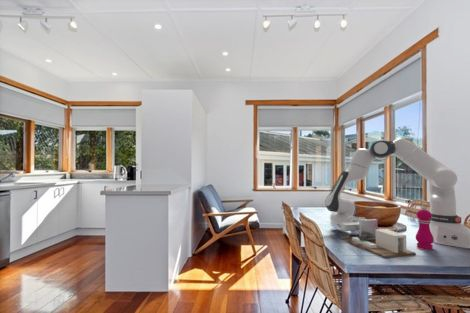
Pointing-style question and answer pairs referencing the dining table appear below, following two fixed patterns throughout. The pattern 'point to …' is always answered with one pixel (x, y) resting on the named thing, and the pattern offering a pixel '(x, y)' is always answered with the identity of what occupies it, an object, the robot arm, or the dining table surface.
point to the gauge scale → (364, 242)
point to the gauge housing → (390, 240)
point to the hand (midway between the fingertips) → (367, 229)
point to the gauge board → (378, 249)
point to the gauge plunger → (369, 229)
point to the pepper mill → (424, 230)
